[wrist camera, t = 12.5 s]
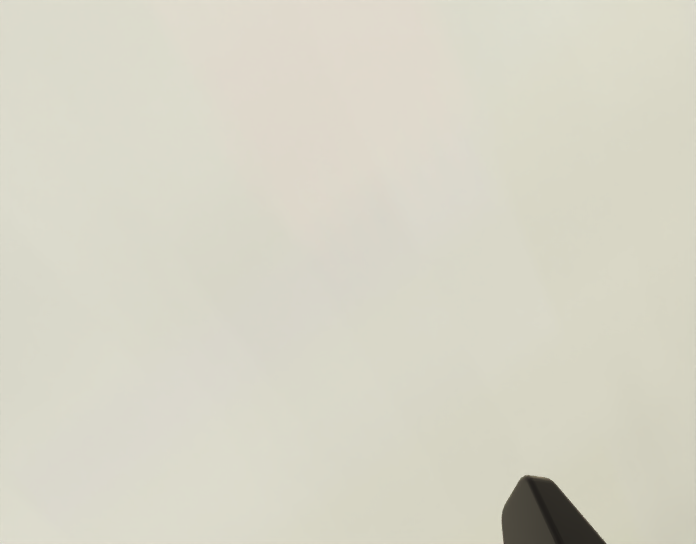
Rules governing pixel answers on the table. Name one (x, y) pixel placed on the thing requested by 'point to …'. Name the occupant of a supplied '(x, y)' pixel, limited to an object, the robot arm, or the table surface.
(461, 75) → the table surface
